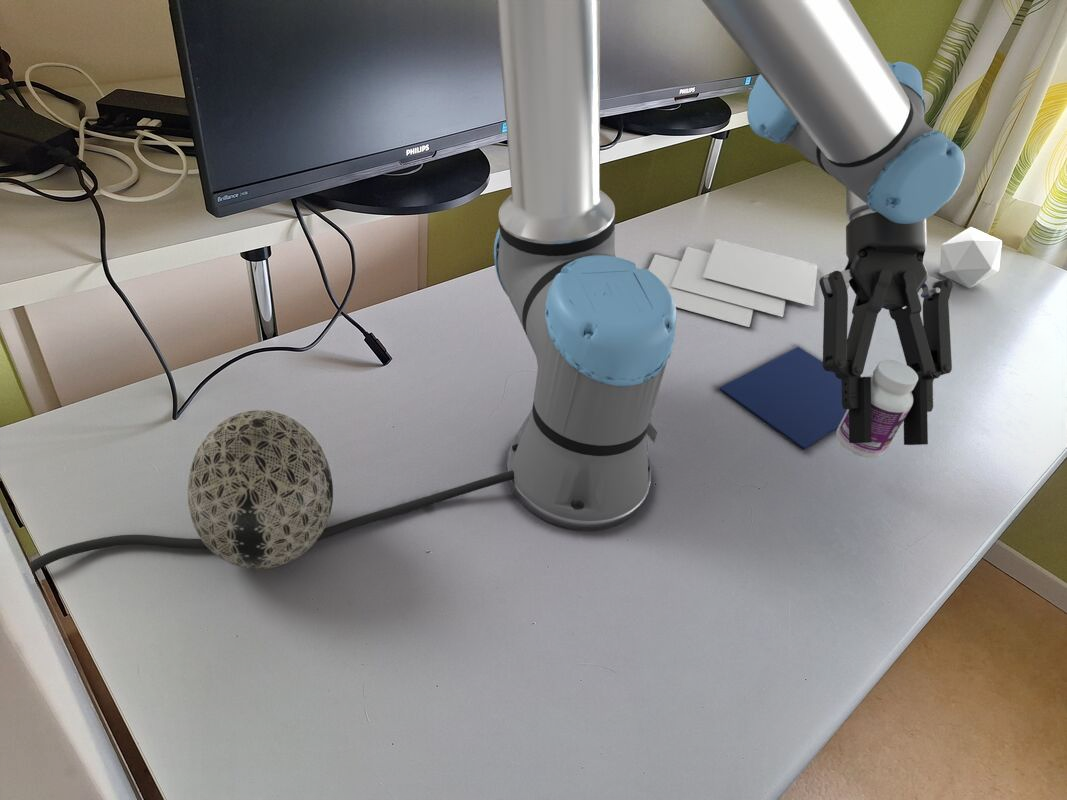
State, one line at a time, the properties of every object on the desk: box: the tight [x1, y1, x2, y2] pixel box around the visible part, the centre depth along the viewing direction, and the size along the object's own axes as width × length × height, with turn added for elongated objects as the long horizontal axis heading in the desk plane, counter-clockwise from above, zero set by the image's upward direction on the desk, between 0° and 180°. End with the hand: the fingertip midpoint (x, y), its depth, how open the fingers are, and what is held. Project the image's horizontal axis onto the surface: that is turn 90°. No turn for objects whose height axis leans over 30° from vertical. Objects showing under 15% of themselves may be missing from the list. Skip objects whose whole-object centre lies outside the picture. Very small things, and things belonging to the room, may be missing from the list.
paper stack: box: [647, 238, 819, 328], centre depth 117 cm, size 23×25×1 cm
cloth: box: [718, 346, 847, 450], centre depth 97 cm, size 17×13×1 cm
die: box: [939, 226, 1003, 289], centre depth 124 cm, size 8×9×10 cm
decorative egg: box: [187, 409, 334, 570], centre depth 65 cm, size 12×12×15 cm
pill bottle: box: [836, 359, 918, 459], centre depth 78 cm, size 5×5×10 cm
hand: (888, 443), depth 77 cm, fingers closed on pill bottle, 5 cm apart
